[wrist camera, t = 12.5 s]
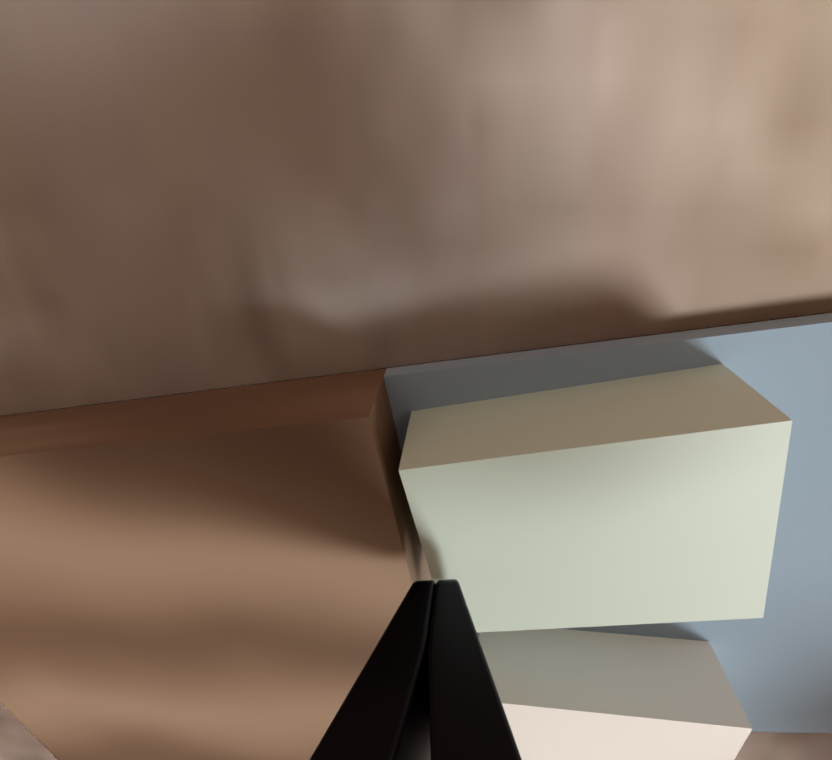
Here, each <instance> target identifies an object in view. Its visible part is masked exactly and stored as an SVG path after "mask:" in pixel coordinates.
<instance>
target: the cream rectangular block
mask: <svg viewBox="0 0 832 760" xmlns="http://www.w3.org/2000/svg"><path fill="white" fill-rule="evenodd" d="M478 638H479V640H480V643H481V646H482V649H483V652H484V654H485V657H486V660H487V663H488V666H489V669H490V671H491V674H492V677H493V680H494V683H495V685H496V688H497V691H498V694H499V697H500V699H501V702H502V705H503V708H504V711H505V714H506V716H507V719H508V722H509V725H510V728H511V730H512V733H513V736H514V739H515V742H516V745H517V747H518V750H519V753H520V756H521V759H522V760H734V759H735V757H736V756H737V754H738V752H739V751H740V749H741V747H742V746H743V744H744V742H745V741H746V739H747V737H748V736H749V734H750V732H751V731H752V729H753V728H752V726H751V724H750V722H749V720H748V718H747V716H746V714H745V712H744V710H743V708H742V706H741V704H740V702H739V700H738V698H737V696H736V694H735V692H734V690H733V688H732V686H731V684H730V682H729V680H728V678H727V676H726V674H725V672H724V670H723V668H722V666H721V664H720V662H719V660H718V658H717V656H716V654H715V652H714V650H713V648H712V646H711V644H710V642H709V641H698V640H687V639H675V638H663V637H651V636H639V635H627V634H615V633H604V632H592V631H580V630H568V629H538V630H518V631H499V632H479V633H478Z"/></svg>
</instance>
